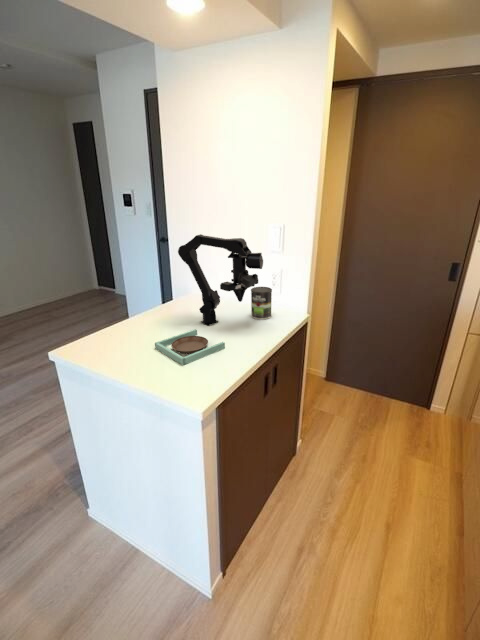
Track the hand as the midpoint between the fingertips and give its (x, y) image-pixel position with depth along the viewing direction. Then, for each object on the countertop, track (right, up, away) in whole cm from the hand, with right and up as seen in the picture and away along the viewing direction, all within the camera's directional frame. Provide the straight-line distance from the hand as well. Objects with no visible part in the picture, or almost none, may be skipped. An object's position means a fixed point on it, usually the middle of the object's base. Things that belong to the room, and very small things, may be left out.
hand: (240, 301), depth 151 cm
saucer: (-20, -21, -17) cm, 33 cm away
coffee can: (+11, -7, +16) cm, 20 cm away
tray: (-20, -20, -17) cm, 33 cm away
